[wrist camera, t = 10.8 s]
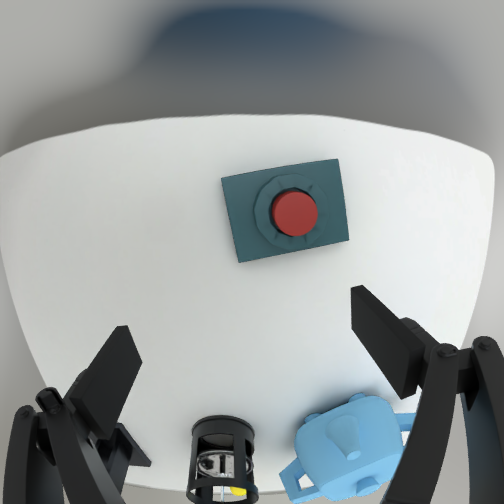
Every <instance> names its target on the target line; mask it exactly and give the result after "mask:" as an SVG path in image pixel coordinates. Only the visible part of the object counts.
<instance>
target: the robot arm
mask: <svg viewBox="0 0 504 504" xmlns="http://www.w3.org/2000/svg"><path fill="white" fill-rule="evenodd" d="M351 324H352V330H353V331H354V333H355V334H356V336H357V337H358V338H359V340H360V341H361V343H362V344H363V345H364V347H365V348H366V350H367V351H368V352H369V354H370V355H371V357H372V358H373V360H374V361H375V362H376V364H377V365H378V367H379V368H380V370H381V371H382V373H383V374H384V375H385V377H386V378H387V380H388V381H389V383H390V384H391V386H392V387H393V389H394V390H395V392H396V393H397V395H398V396H399V398H400V399H401V400H402V399H404V398H407V397H409V396H412V395H414V394H416V390H417V386H418V385H419V386H420V388H421V389H422V392H421V396H420V399H419V403H418V407H417V410H416V414H415V417H414V421H413V424H412V427H411V430H410V433H409V436H408V439H407V442H406V444H405V447H404V450H403V452H402V455H401V458H400V460H399V463H398V465H397V467H396V470H395V472H394V475H393V477H392V479H391V481H390V483H389V486H388V488H387V490H386V492H385V494H384V496H383V498H382V500H381V502H380V504H430V502H431V499H432V496H433V493H434V490H435V487H436V484H437V481H438V477H439V474H440V471H441V467H442V464H443V459H444V456H445V452H446V448H447V443H448V439H449V434H450V429H451V423H452V418H453V412H454V405H455V398H456V394H459V393H460V397H461V402H462V408H463V414H464V421H465V428H466V436H467V446H468V458H469V477H470V478H469V479H470V498H469V504H504V357H503V355H502V353H501V350H500V348H499V346H498V344H497V342H496V341H495V340H494V339H492V338H490V337H487V336H480V337H478V338H476V339H474V341H473V343H472V347H471V348H467V349H462V350H458V349H457V348H456V347H455V346H453V345H452V344H447V343H442V344H440V343H439V342H437V341H436V340H435V339H434V338H433V337H432V336H431V335H430V334H429V333H428V332H427V331H425V330H424V329H423V328H422V327H420V325H419V324H418V323H417V322H416V321H414V320H412V319H409V318H407V317H405V318H402V319H399V318H398V317H397V316H395V315H394V314H393V313H392V312H391V311H390V310H389V309H388V308H387V307H386V306H385V305H384V304H383V303H382V302H381V301H380V300H378V299H377V298H376V297H375V296H374V295H373V294H372V293H371V292H370V291H369V290H368V289H366V288H365V287H364V286H363V285H360V286H356V287H352V288H351ZM141 365H142V360H141V358H140V355H139V353H138V351H137V348H136V346H135V343H134V341H133V338H132V336H131V333H130V331H129V328H128V325H125V326H117V327H116V328H115V330H114V331H113V332H112V334H111V335H110V337H109V338H108V339H107V341H106V342H105V344H104V345H103V346H102V348H101V349H100V351H99V352H98V354H97V355H96V357H95V358H94V359H93V361H92V362H91V364H90V365H89V367H88V368H87V369H85V370H84V371H82V372H81V373H80V374H79V375H78V377H77V378H76V380H75V381H74V383H73V384H72V386H71V387H70V389H69V390H68V392H67V393H66V395H65V396H64V398H63V399H62V398H61V396H60V394H59V393H58V391H57V390H56V388H54V387H48V388H45V389H43V390H42V391H40V392H39V393H38V394H37V396H36V399H35V400H36V402H37V403H38V405H39V406H40V408H41V409H42V411H43V412H38V413H36V412H35V410H34V409H33V407H32V406H30V405H25V406H22V407H21V408H19V409H18V411H17V412H16V414H15V417H14V421H13V426H12V430H11V435H10V441H9V446H8V452H7V459H6V467H5V475H4V487H3V504H64V497H63V486H64V489H65V492H66V495H67V497H68V500H69V502H70V504H126V503H125V502H124V500H123V498H122V497H121V495H120V493H119V492H118V490H117V488H116V487H115V485H114V483H113V481H112V479H111V478H110V476H109V474H108V472H107V470H106V468H105V466H104V464H103V462H102V460H101V458H100V456H99V454H98V452H97V450H96V448H95V446H94V443H93V441H92V440H91V438H90V437H89V434H90V432H91V431H92V432H93V434H94V435H95V436H96V438H98V439H106V440H110V438H111V435H112V433H113V430H114V428H115V425H116V423H117V420H118V418H119V416H120V413H121V411H122V408H123V406H124V404H125V401H126V399H127V397H128V394H129V392H130V390H131V387H132V385H133V383H134V380H135V378H136V376H137V374H138V371H139V369H140V367H141ZM36 445H37V446H36ZM62 484H63V485H62Z"/></svg>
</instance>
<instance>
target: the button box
mask: <svg viewBox="0 0 504 504" xmlns="http://www.w3.org/2000/svg"><path fill="white" fill-rule="evenodd" d="M221 181H222V186H223V191H224V196H225V201H226V205H227V210H228V215H229V220H230V225H231V229H232V234H233V239H234V243H235V248H236V253H237V257H238V262H239V263H241V262H246V261H250V260H255V259H260V258H265V257H270V256H275V255H280V254H285V253H290V252H295V251H300V250H305V249H310V248H314V247H319V246H324V245H329V244H334V243H339V242H343V241H348V240H349V233H348V224H347V216H346V208H345V200H344V193H343V186H342V180H341V174H340V167H339V162H338V159H331V160H323V161H316V162H309V163H302V164H296V165H289V166H283V167H277V168H271V169H265V170H260V171H254V172H249V173H244V174H239V175H234V176H229V177H224V178H221ZM288 191H297V192H301V193H304V194H306V195H308V196H309V197H311V198H312V199H313V201H314V202H315V204H316V207H317V211H318V217H317V221H316V223H315V225H314V227H313V228H312V229H311V230H310V231H309V232H308V233H306V234H304V235H301V236H291V235H288V234H286V233H284V232H283V231H281V230H280V229H279V227H278V226H277V225H276V224H275V222H274V220H273V217H272V207H273V204H274V202H275V200H276V199H277V198H278V197H279V196H280V195H281V194H283V193H285V192H288Z"/></svg>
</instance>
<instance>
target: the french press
mask: <svg viewBox="0 0 504 504" xmlns="http://www.w3.org/2000/svg"><path fill="white" fill-rule="evenodd" d="M212 434H228V435H233V446H232V447H218V446H213V445H211V444H208V443H207V442H205V441H204V440H203V439H202V438H201V437H203V436H207V435H212ZM192 436H193V438H192V451H191V460H190V469H189V479H188V485H187V491H186V496H187V498H188V499H189V500H190V501H191V502H193V503H195V504H254V503H256V501H258V498H259V496H258V488H257V487H256V486H255V485H254V476H253V467H254V465H253V462H252V455H253V453H254V436H255V434H254V430H253V428H252V426H251V425H250V424H249V423H247V422H246V421H244V420H242V419H239V418H236V417H232V416H223V415H219V416H210V417H206V418H203V419H201V420H199V421H198V422H197V423H195V425H194V426H193V428H192ZM196 471H197V479H196V480H195V477H196ZM213 486H221V502H217V501H213ZM224 486H228V487H236V488H242V489H245V490H246V495H247V499H244V500H240V501H234V502H224ZM193 489H196V491H195V495H194V494H193V493H191V492H190V491H191V490H193Z"/></svg>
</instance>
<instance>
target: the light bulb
mask: <svg viewBox="0 0 504 504" xmlns="http://www.w3.org/2000/svg"><path fill="white" fill-rule="evenodd" d="M230 490H231V492H232V493H233V494H234V495H237V496H243V495H245V494H246V490H245V489H242V488H236V487H230Z"/></svg>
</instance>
